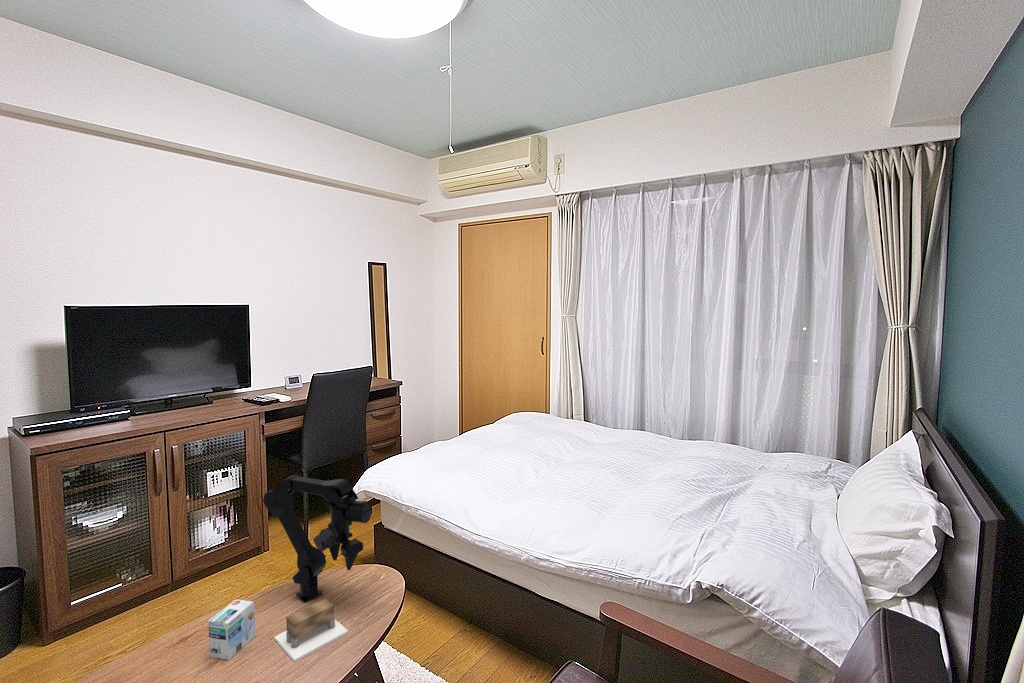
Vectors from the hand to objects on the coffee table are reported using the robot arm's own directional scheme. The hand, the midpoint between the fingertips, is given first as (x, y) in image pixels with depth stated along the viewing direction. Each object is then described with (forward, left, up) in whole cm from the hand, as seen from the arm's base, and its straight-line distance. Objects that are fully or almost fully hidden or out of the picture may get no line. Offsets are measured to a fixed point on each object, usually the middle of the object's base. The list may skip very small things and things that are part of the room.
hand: (341, 565), depth 160 cm
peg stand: (+9, -15, -12) cm, 22 cm away
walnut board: (+9, -15, -9) cm, 20 cm away
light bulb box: (-4, -32, -13) cm, 35 cm away
